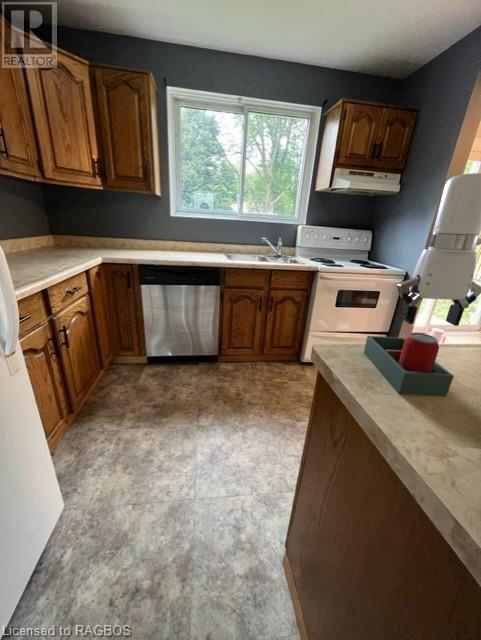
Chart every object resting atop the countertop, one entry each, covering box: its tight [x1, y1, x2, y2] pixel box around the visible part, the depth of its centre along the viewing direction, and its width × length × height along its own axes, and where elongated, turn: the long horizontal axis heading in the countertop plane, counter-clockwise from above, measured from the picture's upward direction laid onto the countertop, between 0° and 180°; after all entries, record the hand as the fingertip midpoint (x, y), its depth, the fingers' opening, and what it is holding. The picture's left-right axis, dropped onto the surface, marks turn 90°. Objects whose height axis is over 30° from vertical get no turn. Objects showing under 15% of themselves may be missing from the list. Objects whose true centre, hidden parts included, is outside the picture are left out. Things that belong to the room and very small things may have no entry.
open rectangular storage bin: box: [363, 335, 455, 398], centre depth 69 cm, size 11×20×6 cm, turn 178°
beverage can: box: [399, 332, 440, 373], centre depth 64 cm, size 7×7×12 cm
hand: (429, 322), depth 60 cm, fingers open, 9 cm apart
